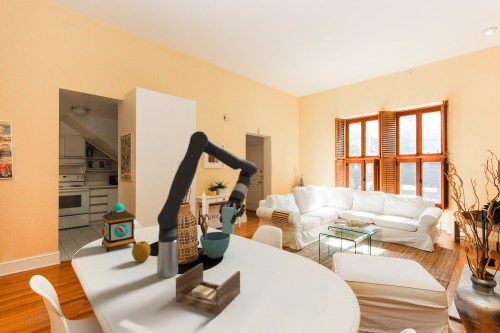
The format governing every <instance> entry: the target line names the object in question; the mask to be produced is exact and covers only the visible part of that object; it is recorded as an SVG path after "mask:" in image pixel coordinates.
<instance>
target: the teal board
mask: <svg viewBox="0 0 500 333" xmlns="http://www.w3.org/2000/svg"><path fill="white" fill-rule="evenodd" d="M233 215H234V208H233V207H222V223H221V230H222V231H221V232H222V233H227V234H230V235H233V234H235V231H236V230H235V223H234V224H231V222H230V221H231V219H232V217H233Z"/></svg>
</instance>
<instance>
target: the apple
mask: <svg viewBox="0 0 500 333" xmlns="http://www.w3.org/2000/svg"><path fill="white" fill-rule="evenodd" d="M131 255H132V258H133V260H134V262H136V263H144V262H146V261H148V258H149V257H150V255H151V246H150V244H149V243H148V242H147V241H144V240H143V241H138V242H137V241H136V244H135V245H134V246H133V247H132V250H131Z"/></svg>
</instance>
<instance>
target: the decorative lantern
mask: <svg viewBox="0 0 500 333" xmlns="http://www.w3.org/2000/svg"><path fill="white" fill-rule="evenodd" d="M101 218H102V220H103V227H102V228H101V234H102V236H103V239H102V240H101V246H102V247H105V248H106V251H107V253H110V250H111V248H116V247H120V246H125V245H131V244H132V245H133V247H134V245H135V244H136V243H137V241H136V238H135V234H134V233H135V228H136V227H135V219H136V216H135V215H134V214H133V213H131V212H129V211H127V210H126V209H125V205H124V204H122V203H121V202H117V203H116V204H115V205H113V207H112V209H111V211H109V212H108V213H105V214H103V216H102V217H101ZM103 245H104V246H103Z"/></svg>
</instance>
